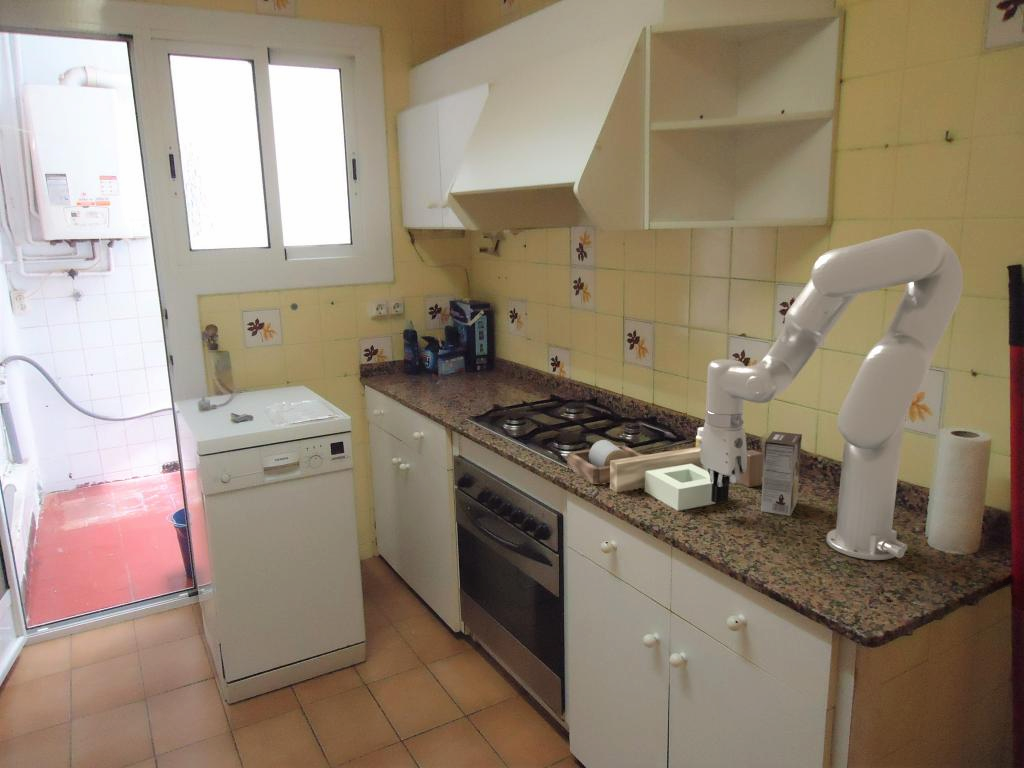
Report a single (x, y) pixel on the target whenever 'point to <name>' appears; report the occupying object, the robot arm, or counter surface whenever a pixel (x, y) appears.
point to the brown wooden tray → (590, 472)
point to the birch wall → (648, 467)
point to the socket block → (680, 486)
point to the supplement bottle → (699, 437)
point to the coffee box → (781, 473)
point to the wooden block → (753, 469)
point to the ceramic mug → (605, 453)
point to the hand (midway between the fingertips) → (719, 501)
